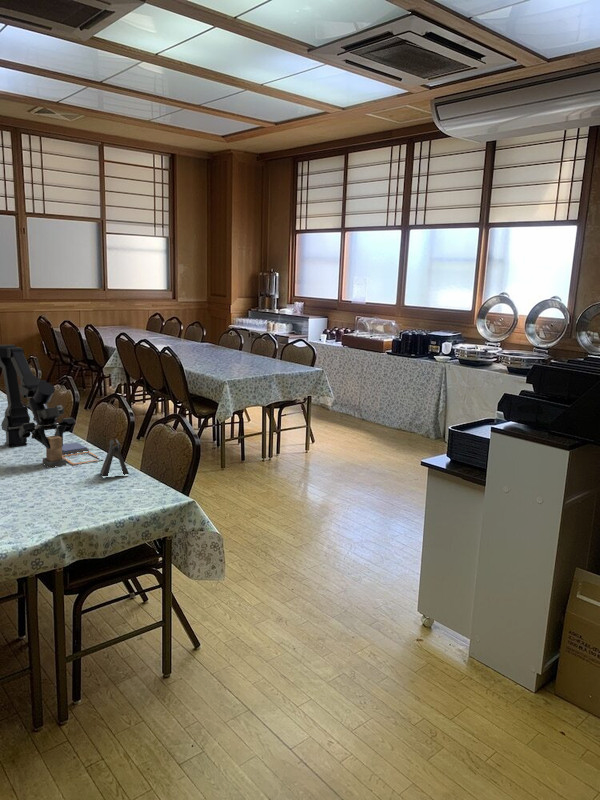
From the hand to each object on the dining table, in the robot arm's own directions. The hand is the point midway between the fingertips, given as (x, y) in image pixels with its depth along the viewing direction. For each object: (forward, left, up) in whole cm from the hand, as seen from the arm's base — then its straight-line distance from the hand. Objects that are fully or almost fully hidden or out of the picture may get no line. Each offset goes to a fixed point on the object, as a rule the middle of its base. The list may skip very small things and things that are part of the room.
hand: (55, 447), depth 214 cm
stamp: (0, +1, -7) cm, 7 cm away
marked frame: (+10, +3, -7) cm, 13 cm away
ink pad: (+12, +16, -7) cm, 21 cm away
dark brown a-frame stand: (+12, -21, -7) cm, 25 cm away
